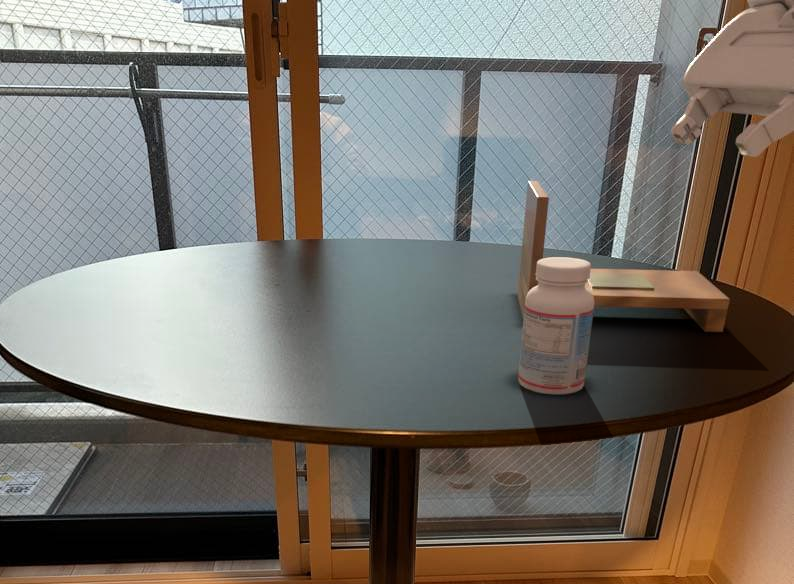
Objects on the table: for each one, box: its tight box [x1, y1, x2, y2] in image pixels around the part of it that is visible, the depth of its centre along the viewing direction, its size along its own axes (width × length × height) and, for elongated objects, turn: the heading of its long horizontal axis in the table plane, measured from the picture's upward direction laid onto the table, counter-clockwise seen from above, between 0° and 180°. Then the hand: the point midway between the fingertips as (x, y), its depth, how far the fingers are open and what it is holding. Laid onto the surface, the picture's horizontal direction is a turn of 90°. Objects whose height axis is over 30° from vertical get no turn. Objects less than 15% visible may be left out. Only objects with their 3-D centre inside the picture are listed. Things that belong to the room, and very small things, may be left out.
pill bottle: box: [518, 256, 595, 395], centre depth 72 cm, size 6×6×11 cm
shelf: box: [517, 180, 731, 333], centre depth 93 cm, size 22×14×14 cm, turn 86°
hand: (708, 144), depth 68 cm, fingers open, 8 cm apart
